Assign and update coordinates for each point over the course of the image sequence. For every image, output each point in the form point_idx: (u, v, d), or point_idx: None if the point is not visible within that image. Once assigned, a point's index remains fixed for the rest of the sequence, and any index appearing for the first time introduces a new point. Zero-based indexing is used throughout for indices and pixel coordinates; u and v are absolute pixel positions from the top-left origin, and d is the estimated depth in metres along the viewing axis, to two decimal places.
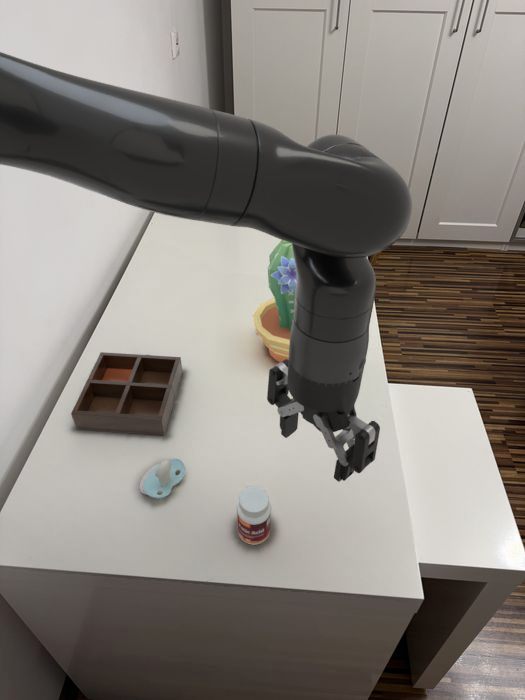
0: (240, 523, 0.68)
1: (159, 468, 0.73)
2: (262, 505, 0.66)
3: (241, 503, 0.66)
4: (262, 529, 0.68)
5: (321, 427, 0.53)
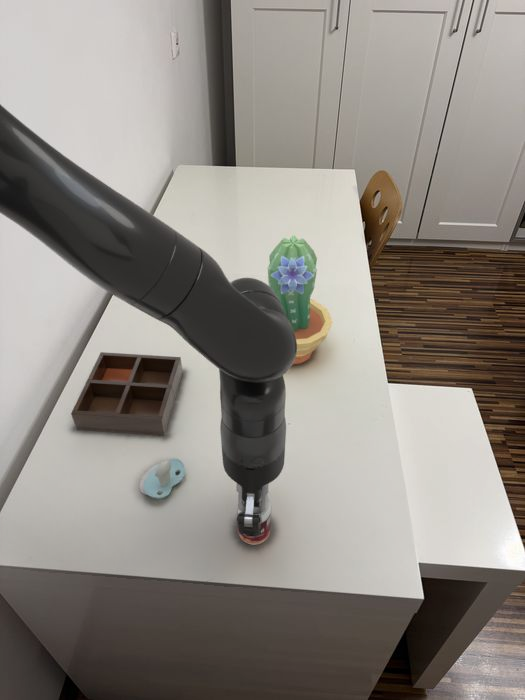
0: None
1: (159, 468, 0.73)
2: None
3: None
4: (262, 529, 0.68)
5: None
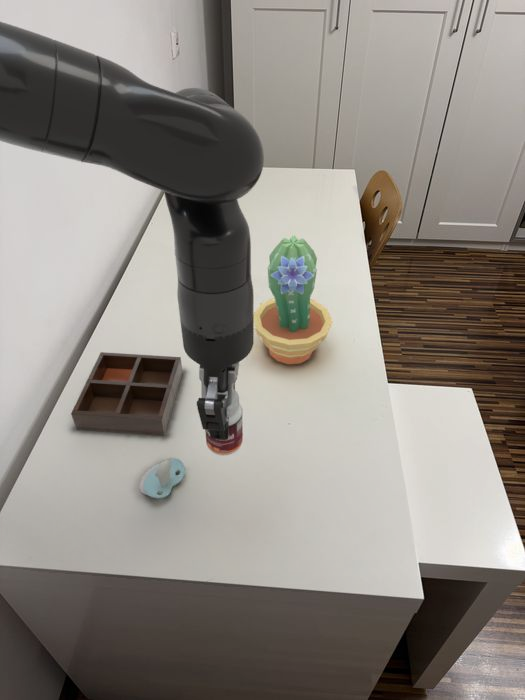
0: None
1: (159, 468, 0.73)
2: (231, 404, 0.59)
3: None
4: (232, 434, 0.61)
5: None
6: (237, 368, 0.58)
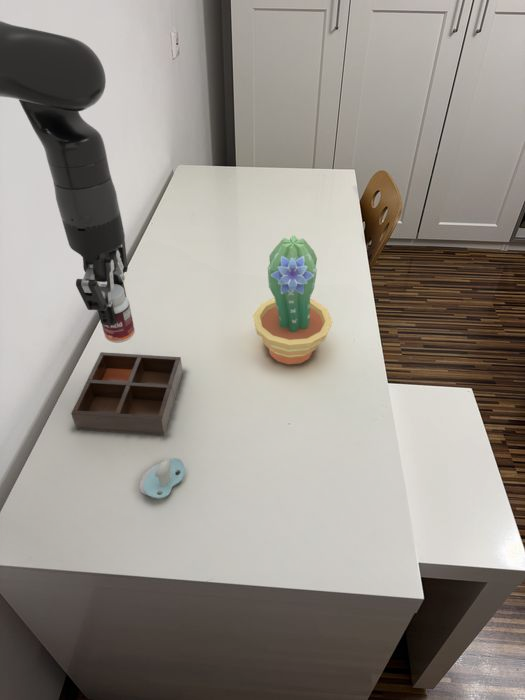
0: None
1: (159, 468, 0.73)
2: (116, 295, 0.74)
3: None
4: (120, 322, 0.76)
5: None
6: (120, 266, 0.74)
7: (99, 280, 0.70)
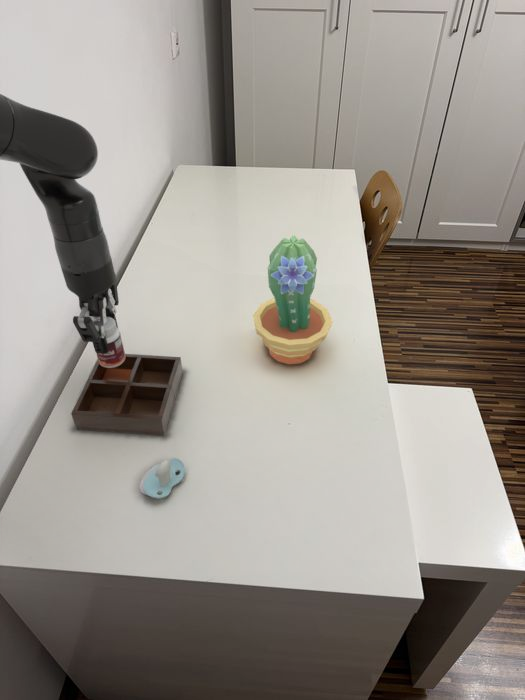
0: None
1: (159, 468, 0.73)
2: (108, 327, 0.84)
3: None
4: (112, 350, 0.86)
5: None
6: (111, 302, 0.83)
7: (93, 315, 0.80)
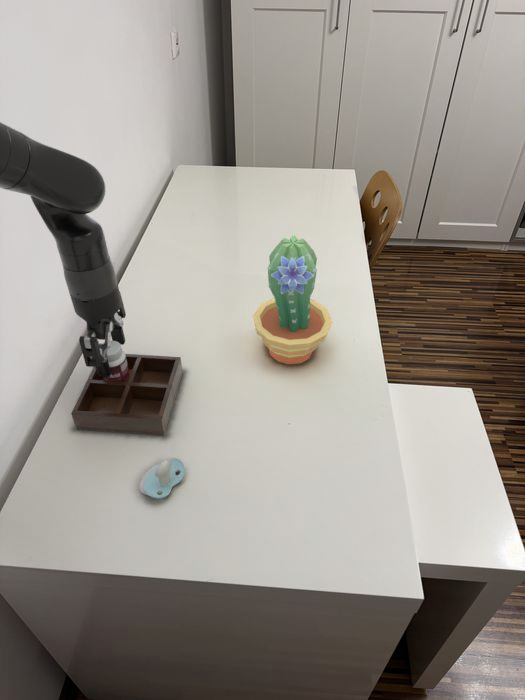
0: None
1: (159, 468, 0.73)
2: (114, 351, 0.87)
3: None
4: (118, 373, 0.89)
5: None
6: (118, 321, 0.87)
7: (100, 338, 0.83)
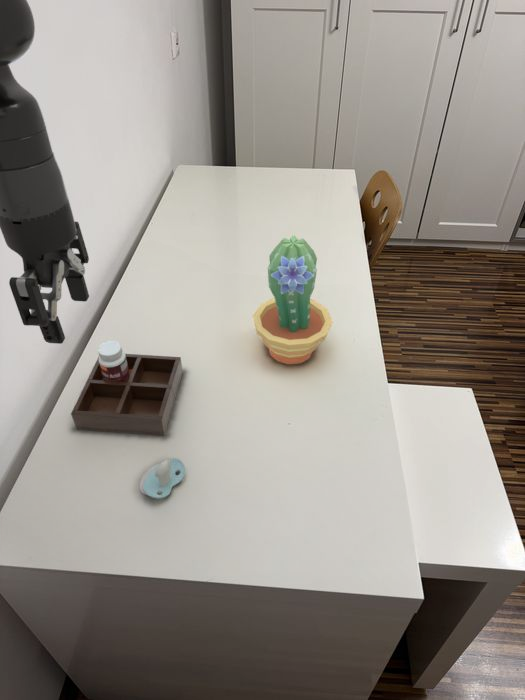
0: (101, 369, 0.90)
1: (159, 468, 0.73)
2: (114, 351, 0.87)
3: (98, 350, 0.87)
4: (118, 373, 0.89)
5: None
6: (75, 263, 0.61)
7: (46, 286, 0.57)
